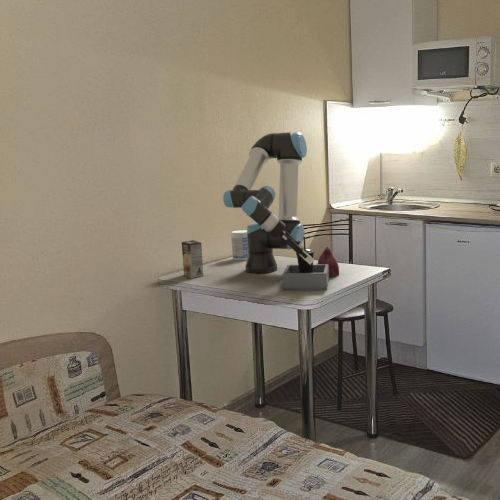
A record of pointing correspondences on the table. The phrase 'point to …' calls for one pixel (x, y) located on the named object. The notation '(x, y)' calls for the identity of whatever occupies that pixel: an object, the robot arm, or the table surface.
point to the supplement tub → (239, 245)
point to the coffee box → (192, 258)
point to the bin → (306, 278)
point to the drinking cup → (303, 265)
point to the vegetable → (329, 262)
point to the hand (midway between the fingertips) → (310, 259)
